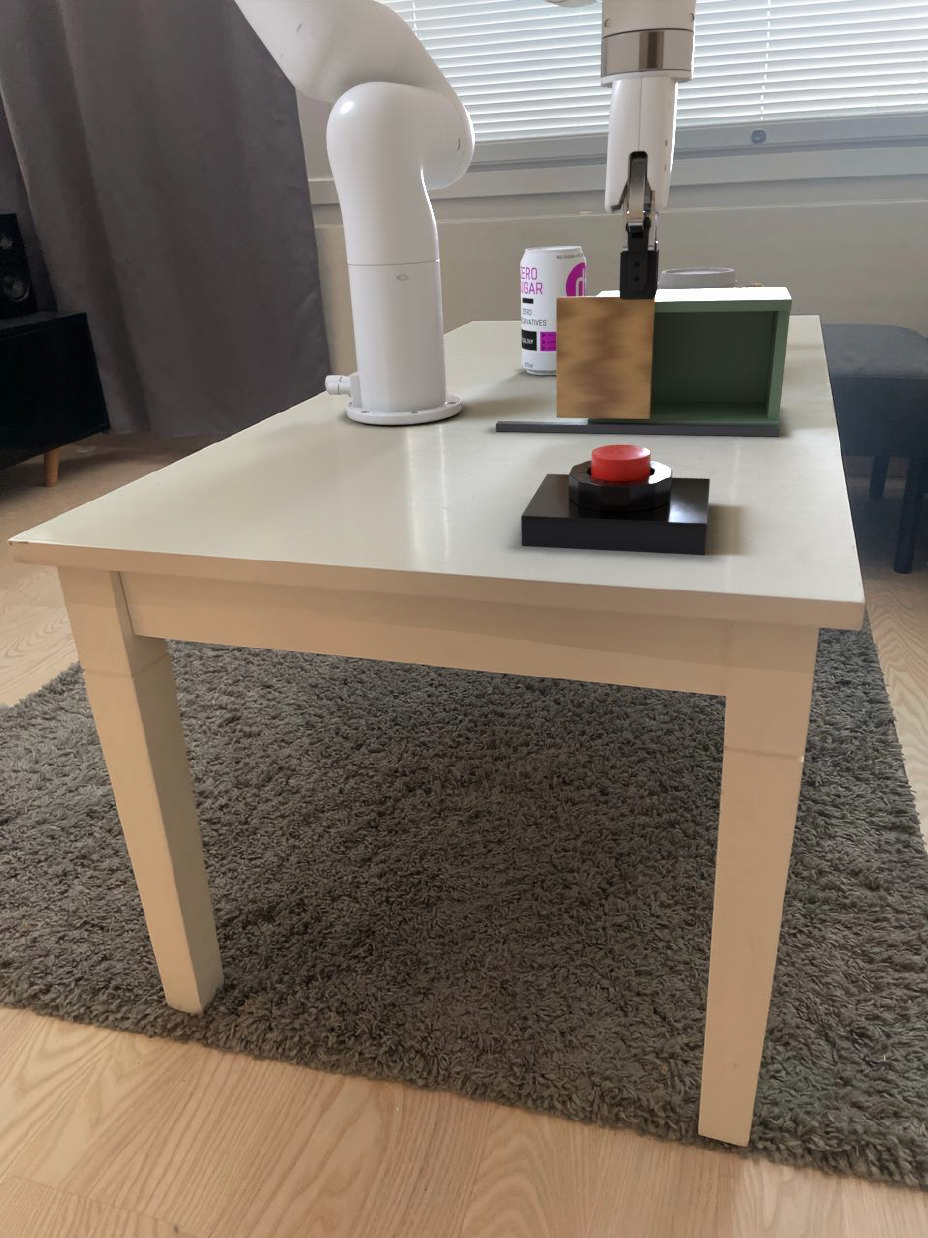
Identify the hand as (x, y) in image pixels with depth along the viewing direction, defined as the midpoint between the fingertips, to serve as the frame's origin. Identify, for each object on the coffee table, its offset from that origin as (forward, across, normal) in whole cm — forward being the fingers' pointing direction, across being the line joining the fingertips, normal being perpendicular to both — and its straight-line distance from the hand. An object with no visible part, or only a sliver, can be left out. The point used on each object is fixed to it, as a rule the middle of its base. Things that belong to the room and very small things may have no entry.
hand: (638, 296), depth 83 cm
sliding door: (+11, 0, -3) cm, 12 cm away
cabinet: (+13, -5, 0) cm, 14 cm away
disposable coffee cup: (+13, -32, +4) cm, 35 cm away
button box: (+13, +27, +1) cm, 30 cm away
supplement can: (+13, -33, -13) cm, 38 cm away
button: (+9, +27, +1) cm, 29 cm away
